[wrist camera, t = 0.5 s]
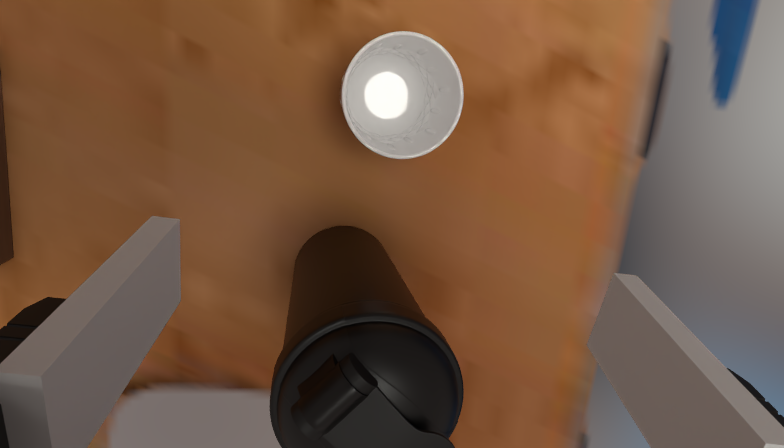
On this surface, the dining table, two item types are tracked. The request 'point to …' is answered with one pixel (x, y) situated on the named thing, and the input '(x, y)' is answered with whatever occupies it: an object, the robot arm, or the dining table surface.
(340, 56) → the dining table surface
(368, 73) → the white cup
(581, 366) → the dining table surface
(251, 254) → the dining table surface
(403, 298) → the water bottle
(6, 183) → the backstop wall
